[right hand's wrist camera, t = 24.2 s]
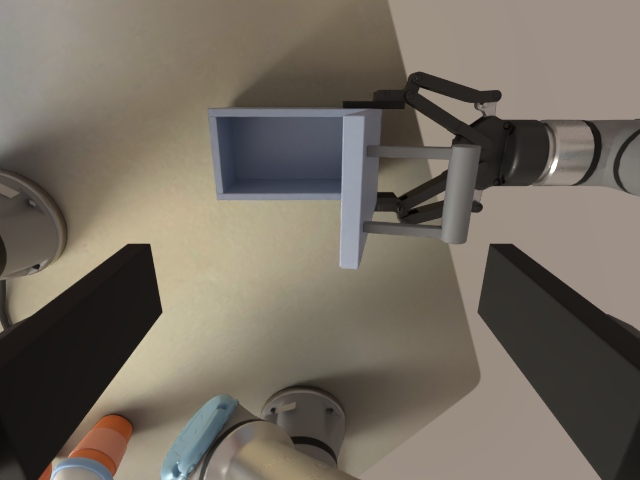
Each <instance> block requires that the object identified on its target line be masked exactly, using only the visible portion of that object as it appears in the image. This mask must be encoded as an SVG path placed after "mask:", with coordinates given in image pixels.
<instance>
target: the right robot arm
mask: <svg viewBox="0 0 640 480" xmlns="http://www.w3.org/2000/svg"><path fill="white" fill-rule="evenodd" d="M65 244H66V226H65V222H64V219H63V216H62V214H61V212H60V210H59V208H58V206H57V205H56V203H55V202H54V201H53V199H52V198H51V197H50V196H49V195H48V194H47V193H46V192H45V191H44V190H43V189H42V188H41V187H40V186H38V185H37V184H36V183H34V182H32V181H31V180H29V179H27V178H25V177H23V176H21V175H19V174H16V173H13V172H9V171H3V170H0V321H1V324H2V326H3V328H4V331H3V332H1V333H0V480H38V479H39V478H40V477H41V475H42V474H43V473H44V471H45V470H46V469H47V467H48V466H49V464H50V463H51V462H52V460H53V459H54V458H55V456H56V455H57V454H58V452H59V451H60V450H61V448H62V447H63V446H64V444H65V443H66V442H67V440H68V439H69V438H70V436H71V435H72V434H73V432H74V431H75V429H76V428H77V427H78V425H79V424H80V423H81V421H82V420H83V419H84V417H85V416H86V415H87V413H88V412H89V411H90V409H91V408H92V407H93V405H94V404H95V403H96V401H97V400H98V398H99V397H100V396H101V394H102V393H103V392H104V390H105V389H106V388H107V386H108V385H109V384H110V382H111V381H112V380H113V378H114V377H115V376H116V374H117V373H118V372H119V370H120V369H121V368H122V366H123V365H124V363H125V362H126V361H127V359H128V358H129V357H130V355H131V354H132V353H133V351H134V350H135V349H136V347H137V346H138V345H139V343H140V342H141V341H142V339H143V338H144V337H145V335H146V334H147V333H148V331H149V330H150V328H151V327H152V326H153V324H154V323H155V322H156V320H157V319H158V318H159V316H160V315H161V314H162V307H161V301H160V296H159V290H158V285H157V279H156V274H155V268H154V263H153V257H152V252H151V246H150V244H127V245H126V246H124V247H123V248H122V249H120V250H119V251H118V252H116V253H115V254H114V255H112V256H111V257H110V258H108V259H107V260H106V261H104V262H103V263H102V264H100V265H99V266H98V267H96V268H95V269H94V270H92V271H91V272H90V273H88V274H87V275H86V276H84V277H83V278H82V279H80V280H79V281H78V282H76V283H75V284H74V285H72V286H71V287H70V288H68V289H67V290H66V291H64V292H63V293H62V294H60V295H59V296H58V297H56V298H55V299H54V300H52V301H51V302H50V303H48V304H47V305H46V306H44V307H43V308H41V309H40V310H39V311H37V312H36V313H35V314H33V315H32V316H30V317H28V318H26V319H24V320H22V321H20V322H18V323H16V324H14V325H12V326H10V324H9V322H8V319H7V316H6V312H5V298H6V279H9V278H15V277H20V276H25V275H31V274H34V273H37V272H39V271H41V270H43V269H44V268H46V267H47V266H49V265H51V264H52V263H54V262H55V261H56V260H57V259H58V258H59V257H60V255H61V254H62V252H63V250H64V247H65ZM478 314H479V315H480V316H481V318H482V319H483V320H484V322H485V323H486V324H487V326H488V327H489V328H490V330H491V331H492V333H493V334H494V335H495V337H496V338H497V339H498V341H499V342H500V343H501V345H502V346H503V347H504V349H505V350H506V351H507V353H508V354H509V355H510V357H511V358H512V359H513V361H514V362H515V363H516V365H517V366H518V368H519V369H520V370H521V372H522V373H523V374H524V376H525V377H526V378H527V380H528V381H529V382H530V384H531V385H532V386H533V388H534V389H535V390H536V392H537V393H538V394H539V396H540V397H541V398H542V400H543V401H544V403H545V404H546V405H547V407H548V408H549V409H550V411H551V412H552V413H553V415H554V416H555V417H556V419H557V420H558V421H559V423H560V424H561V425H562V427H563V428H564V429H565V431H566V432H567V433H568V435H569V436H570V438H571V439H572V440H573V442H574V443H575V444H576V446H577V447H578V448H579V450H580V451H581V452H582V454H583V455H584V456H585V458H586V459H587V460H588V462H589V463H590V464H591V466H592V467H593V468H594V470H595V471H596V472H597V474H598V475H599V477H600V478H601V479H602V480H640V331H638V330H637V329H636V328H634V327H633V326H631V325H629V324H627V323H625V322H623V321H621V320H619V319H617V318H615V317H613V316H611V315H609V314H605V313H604V312H603V311H601V310H600V309H598V308H597V307H596V306H595V305H593V304H592V303H590V302H589V301H588V300H586V299H585V298H584V297H582V296H581V295H580V294H578V293H577V292H576V291H574V290H573V289H572V288H570V287H569V286H568V285H566V284H565V283H564V282H562V281H561V280H560V279H558V278H557V277H556V276H554V275H553V274H552V273H550V272H549V271H548V270H546V269H545V268H544V267H542V266H541V265H540V264H538V263H537V262H536V261H534V260H533V259H532V258H530V257H529V256H528V255H526V254H525V253H524V252H522V251H521V250H520V249H518V248H517V247H516V246H514V245H513V244H490V246H489V252H488V257H487V263H486V268H485V274H484V279H483V285H482V290H481V296H480V301H479V307H478Z"/></svg>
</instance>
